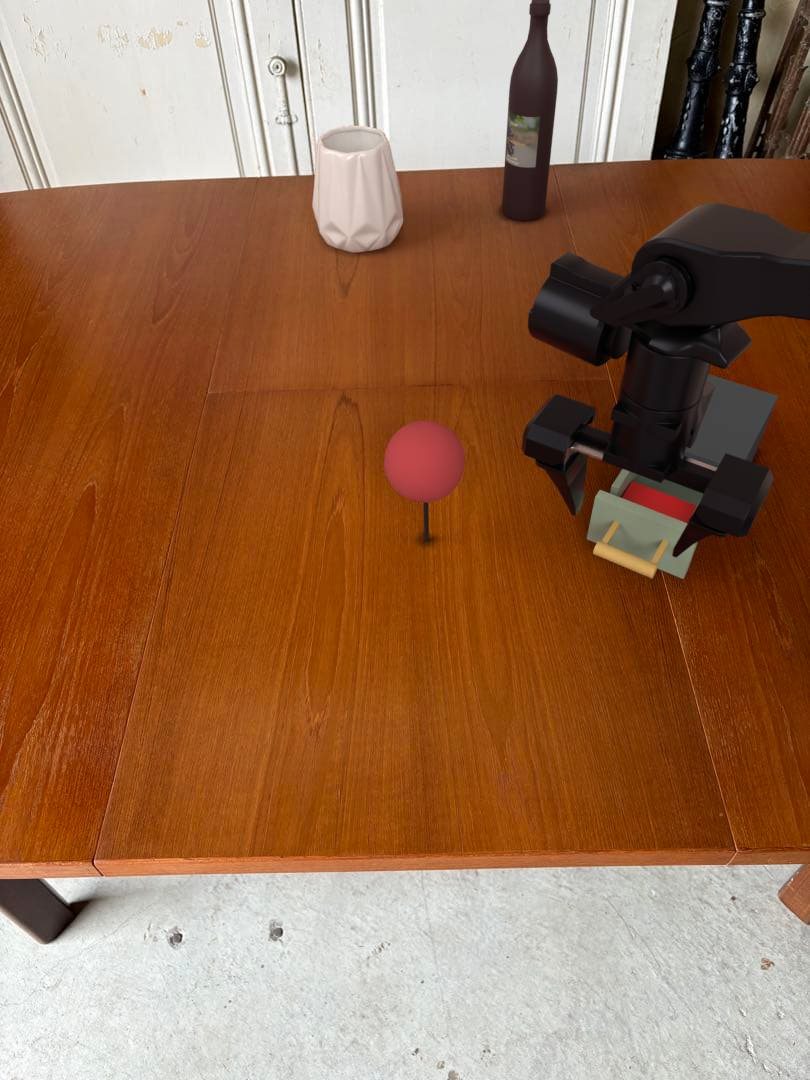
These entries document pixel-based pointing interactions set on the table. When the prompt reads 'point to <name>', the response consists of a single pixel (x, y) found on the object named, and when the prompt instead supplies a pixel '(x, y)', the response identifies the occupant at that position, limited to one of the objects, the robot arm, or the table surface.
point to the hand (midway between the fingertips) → (624, 532)
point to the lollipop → (424, 463)
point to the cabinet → (732, 422)
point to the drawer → (640, 528)
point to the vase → (356, 189)
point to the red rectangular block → (659, 502)
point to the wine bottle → (530, 121)
